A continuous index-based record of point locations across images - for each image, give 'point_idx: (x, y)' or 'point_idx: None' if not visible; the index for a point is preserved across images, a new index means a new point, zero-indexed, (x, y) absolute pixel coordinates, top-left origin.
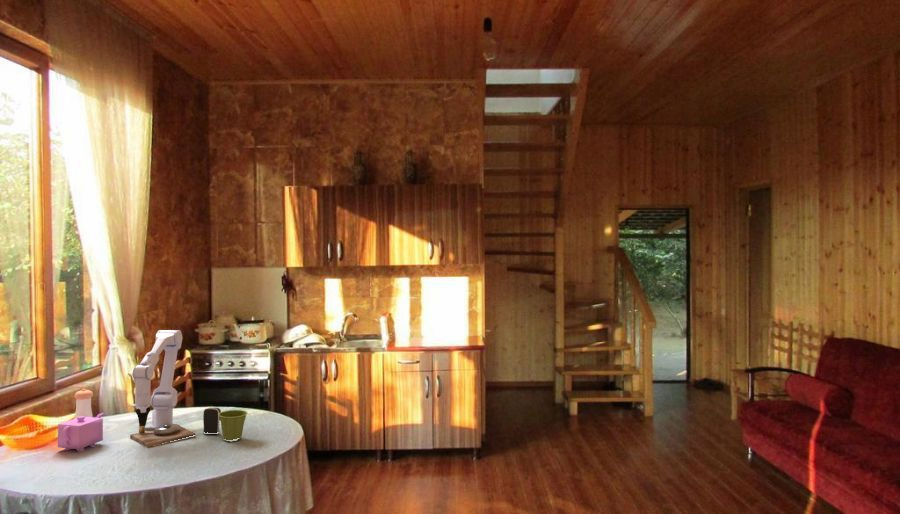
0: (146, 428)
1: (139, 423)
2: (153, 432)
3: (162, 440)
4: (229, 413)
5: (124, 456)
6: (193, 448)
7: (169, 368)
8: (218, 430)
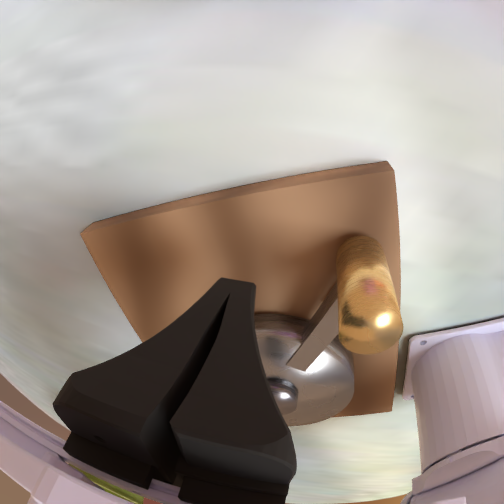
0: (331, 305)
1: (205, 294)
2: None
3: (123, 308)
4: (139, 497)
5: (5, 114)
6: (63, 347)
7: None
8: None
